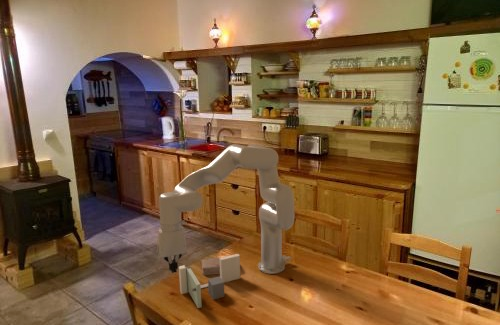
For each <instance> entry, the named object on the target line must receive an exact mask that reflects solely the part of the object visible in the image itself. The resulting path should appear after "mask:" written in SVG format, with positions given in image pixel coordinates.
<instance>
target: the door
mask: <svg viewBox="0 0 500 325" xmlns="http://www.w3.org/2000/svg"><path fill="white" fill-rule="evenodd" d="M185 267H186V277H187V290H188V291H189V292H188V294H189V295H190V296H191V298H192V300H193V302H194V304H195V305H196V307H197V309H200V308H202V307H203V306H202V292H201V291H202V289H201V286H200V285H201V283H200V281H199V279H198V278H197V276H196V275H195V273H194V272H193V270H192V269H191V266H185Z"/></svg>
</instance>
